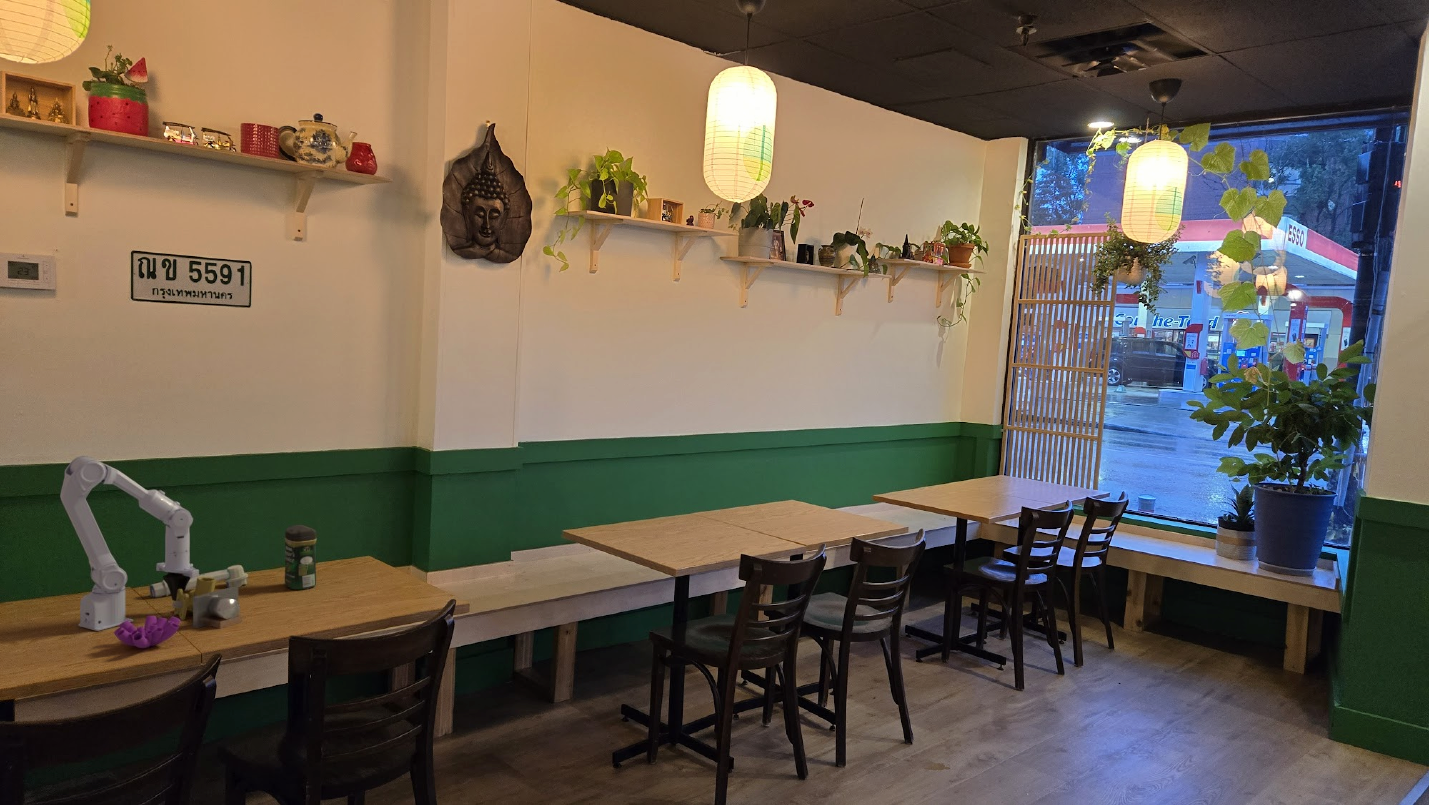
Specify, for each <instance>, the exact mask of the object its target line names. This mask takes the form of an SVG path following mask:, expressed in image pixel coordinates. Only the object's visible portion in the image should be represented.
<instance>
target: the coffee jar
mask: <svg viewBox="0 0 1429 805" xmlns="http://www.w3.org/2000/svg"><path fill="white" fill-rule="evenodd" d="M317 539H318V538H317V531H316V530H315V529H314V528H311V527H308V526H306V525H304V524H296V525H290V526H288V527H287V528H286V529H285V532H284V545H285V546H284V547H285V548H284V552H285V555H284V556H285V559H284V586H286V587H288V588H289V589H290V590H295V591H296V590H304V591H305V590H308V589H311V588H314V587H316V585H317V569H316V568H317V566H316V565H317V563H316V560H317V559H316V551H317V549H316V548H317V546H316V545H317Z"/></svg>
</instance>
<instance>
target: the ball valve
mask: <svg viewBox="0 0 1429 805" xmlns="http://www.w3.org/2000/svg"><path fill="white" fill-rule="evenodd" d="M216 583H217V582H216V579H215V578H213V577H199V578H197V582H196V588H193V589H191V590H190V591H188V593H185V592H184V593H183V590H182V589H178V593H177V598H176V601H173V603H172V608H174V610H173V614H174V616H177V615H178V617H179V619H180V620H181V621H186V618H187V617H186V615H187V611H189V612H193V597H195V596H199V595H203V594H207V593H210V592H214V591H215V588H216Z"/></svg>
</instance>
